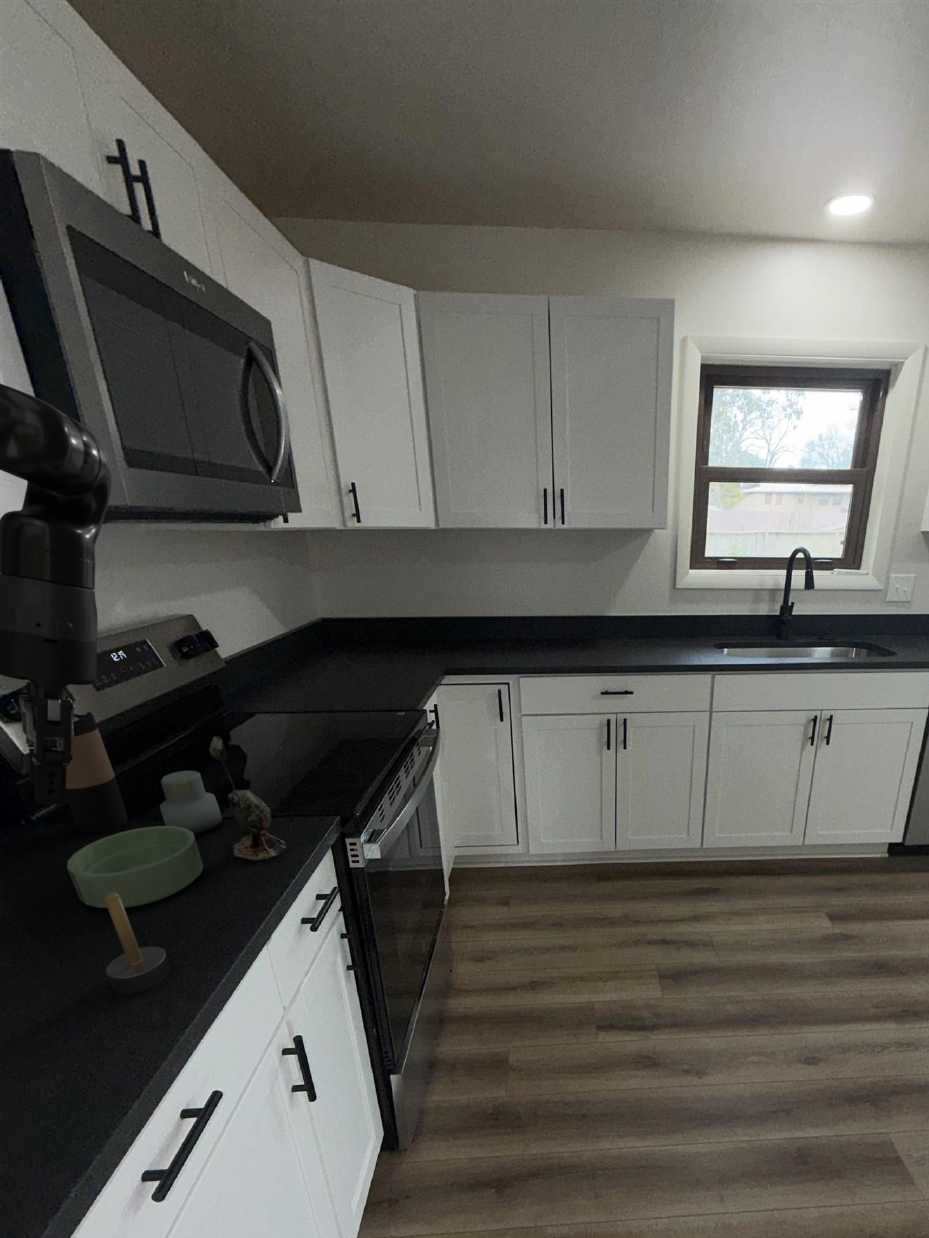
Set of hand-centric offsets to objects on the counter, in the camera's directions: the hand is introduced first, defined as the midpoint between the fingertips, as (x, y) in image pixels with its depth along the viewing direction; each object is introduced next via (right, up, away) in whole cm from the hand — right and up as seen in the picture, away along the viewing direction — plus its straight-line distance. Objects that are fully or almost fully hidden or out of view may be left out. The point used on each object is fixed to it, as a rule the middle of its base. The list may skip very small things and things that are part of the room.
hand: (46, 793), depth 66 cm
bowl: (-13, -13, +33) cm, 38 cm away
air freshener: (-17, -5, +50) cm, 53 cm away
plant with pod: (-1, -9, +42) cm, 43 cm away
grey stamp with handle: (0, -22, +13) cm, 26 cm away
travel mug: (-34, -5, +51) cm, 62 cm away
